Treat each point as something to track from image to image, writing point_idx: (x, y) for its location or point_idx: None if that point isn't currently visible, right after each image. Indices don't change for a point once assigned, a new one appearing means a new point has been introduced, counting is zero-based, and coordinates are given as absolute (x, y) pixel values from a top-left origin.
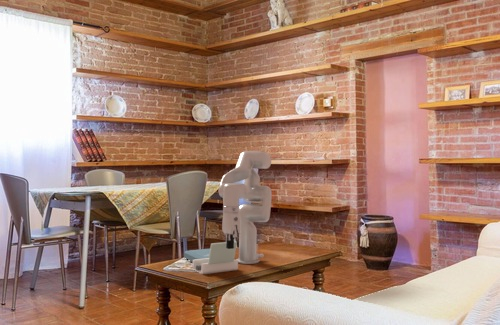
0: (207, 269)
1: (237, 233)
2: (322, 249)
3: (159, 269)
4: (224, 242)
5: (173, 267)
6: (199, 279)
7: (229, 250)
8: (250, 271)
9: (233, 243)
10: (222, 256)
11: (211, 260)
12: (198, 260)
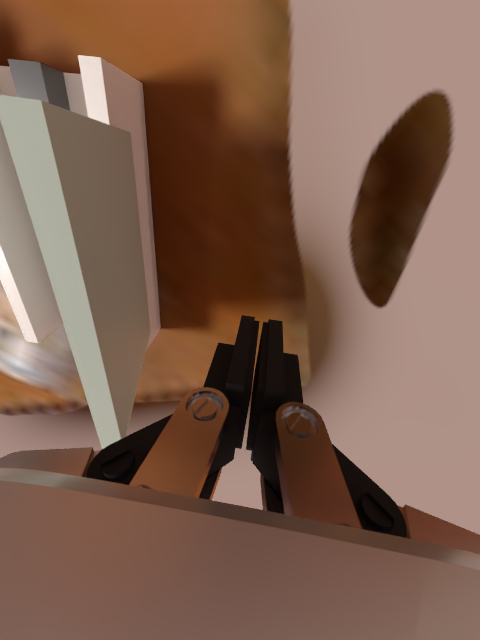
0: (150, 316)
1: (448, 566)
2: None
3: (33, 394)
4: (69, 330)
5: (7, 349)
6: None
7: (112, 222)
8: (230, 3)
9: (282, 360)
10: (133, 270)
11: (146, 335)
12: (32, 316)
